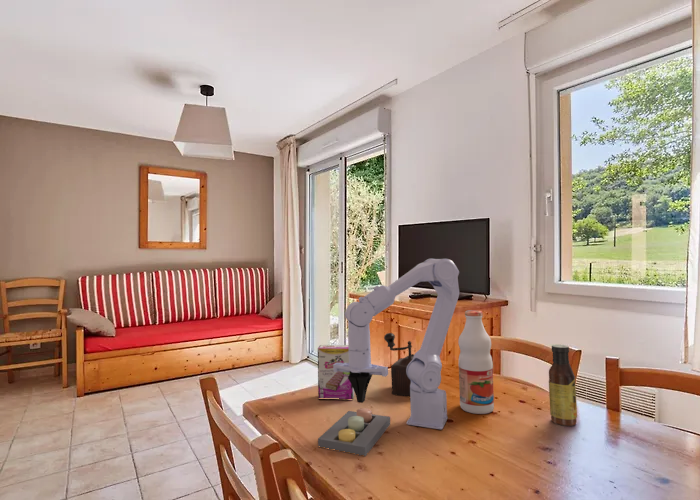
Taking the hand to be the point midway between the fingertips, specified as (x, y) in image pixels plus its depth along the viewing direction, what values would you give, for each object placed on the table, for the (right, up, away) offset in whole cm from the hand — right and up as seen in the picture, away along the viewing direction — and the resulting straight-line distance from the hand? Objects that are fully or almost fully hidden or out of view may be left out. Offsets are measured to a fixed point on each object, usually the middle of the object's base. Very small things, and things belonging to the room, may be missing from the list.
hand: (361, 401), depth 104 cm
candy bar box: (-7, -8, +23) cm, 26 cm away
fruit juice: (+34, -7, +12) cm, 36 cm away
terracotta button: (+1, -6, +2) cm, 6 cm away
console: (-1, -7, -3) cm, 8 cm away
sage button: (-1, -6, -3) cm, 7 cm away
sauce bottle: (+53, -6, +1) cm, 53 cm away
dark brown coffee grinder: (+15, -8, +29) cm, 33 cm away
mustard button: (-4, -7, -8) cm, 11 cm away
